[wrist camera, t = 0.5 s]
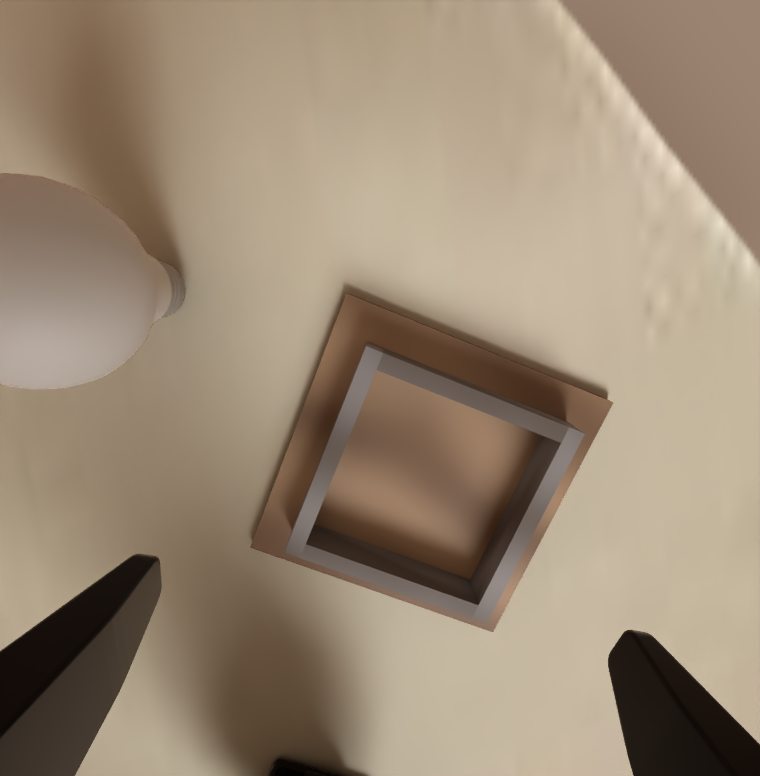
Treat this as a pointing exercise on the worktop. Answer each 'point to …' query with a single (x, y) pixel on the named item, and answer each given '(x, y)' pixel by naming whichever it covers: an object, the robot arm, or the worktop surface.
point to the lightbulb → (72, 286)
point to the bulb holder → (425, 465)
